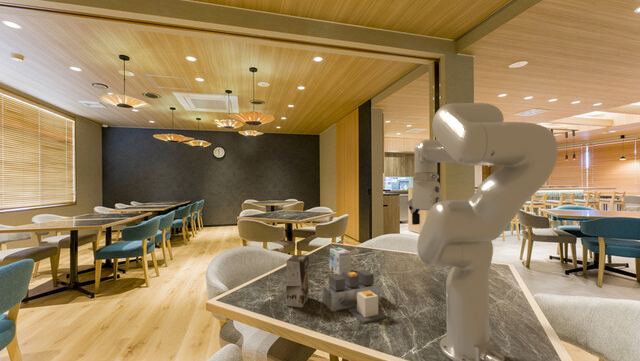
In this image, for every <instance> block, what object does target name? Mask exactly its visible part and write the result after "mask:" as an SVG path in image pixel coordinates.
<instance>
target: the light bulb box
mask: <svg viewBox="0 0 640 361" xmlns="http://www.w3.org/2000/svg"><path fill="white" fill-rule="evenodd" d="M329 270H330V271H331V272H333V274H339V275H340V276H342V272H348V271H351V272H352V251H351V250H350V251H349V250H347V249H345V248H342V247H335V248H329Z"/></svg>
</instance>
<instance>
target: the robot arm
mask: <svg viewBox="0 0 640 361" xmlns="http://www.w3.org/2000/svg"><path fill="white" fill-rule="evenodd" d="M431 128H432V133H433V136H434V138H435V139H424V140H420V142H419V143H418V144H416V145H415V146H414V182H413V185H412V193H411V196H412V198H411V199H409V200H407V203H406V204H407V205H408V210H410V214H412V215H411V225H413V226H416V225H421V224H420V223H421V221H420V220H421V218H420V217H421V214H420V211H428V213H427V216H426V218H425V220H424V222H423V225H422V227H421V231H420V233H419V236H418V238H417V246H416V247H417V249H416V250H417V254H418V257H419V259H420V260H421V262H423V263H424V264H425V265H427V266H431V267H448V268H449V267H451V269H450V270H449V273H448V275H447V276H446V282H445V284H446V285H445V293H446V296H445V300H446V301H445V302H446V303H445V305H446V306H445V307H446V308H445V310H446V336H444V337H442V338H441V339H440V346H439V347H440V350H441V352H442V353H443V354H444V355H445V356H446V357H447V358H448V359H449V360H451V361H505V355H503V354H501V353H498V352H497V351H496V350H495V343H494V342H493V341H491V340H490V308H489V307H490V306H489V305H490V302H489V301H490V300H489V299H490V298H489V296H490V294H489V293H490V291H489V290H490V287H489V285H490V270H491V264H492V259H493V255H494V245H493V244H494V243H493V242H492V241H495V240H496V239H498V238H499V237H501V235H502V234H503V233H504V232H505V230H506V229H507V228H508V227H509V225H510V224H511V223H512V221H513V220H514V218H515V217H516V216H517V215H518V213H519V212H520V211H521V209H522V208H523V206H524V205H525V204H526V203H527V202H528V201H529V200H530V199H531V198H532V196H534V195H535V194H536V193H537V192H538V191H539V190H540V189H541V188H542V187H543V186H544V184H546V182H547V181H548V180H549V178H550V177H551V175H552V173H553V171H554V169H555V166H556V165H557V160H558V153H559V152H558V151H559V149H558V142H557V139H556V136H555V134H554V133H553V131H552V130H550V129H549V128H548V127H545V126H544V125H540V124H537V123H533V122H524V121H504V114H503V112H502V110H501V109H500V108H499V107H497V106H495V105H493V104H489V103H484V102H471V103H470V102H467V103H466V102H461V103H459V102H455V103H453V102H452V103H446V104H444V105H442V106H441V107H439V109H438V110H437V111H436V112H435V114H434V116H433V119H432V124H431ZM438 163H458V164H460V165H464V166H473V167H474V166H502V167H501V168H499V169H498V170H496V171H494V172H493V173H491V174H490V175H488V176H487V177H486V178H485V179H483V181H482V182H481V183H480V184H479V185H478V187H477V188H476V191H475V192H474V194H473V195H472V196H471V198H467V199H446V200H445V199H444V200H443V193H442V189H441V183H440V182H439V181H438V179H439V178H440V175H439V174H438Z"/></svg>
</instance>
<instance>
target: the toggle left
mask: <svg viewBox="0 0 640 361" xmlns="http://www.w3.org/2000/svg"><path fill="white" fill-rule="evenodd" d="M328 284H329V285H330V286H331V287H332V288H333V289H335V290H336V291H337V290H343V289H345V278H343V277H342V275H339V274H336V273H333V274H328Z"/></svg>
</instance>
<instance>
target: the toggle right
mask: <svg viewBox="0 0 640 361" xmlns="http://www.w3.org/2000/svg"><path fill="white" fill-rule="evenodd" d="M356 273H357V275H358V276H359V282H361V283H362V284H364V285H371V284H374V282H375V278H374V277H375V276H374V275H375V274H374V273H372V272H370V271H368V270H367V269H359V270H356Z"/></svg>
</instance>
